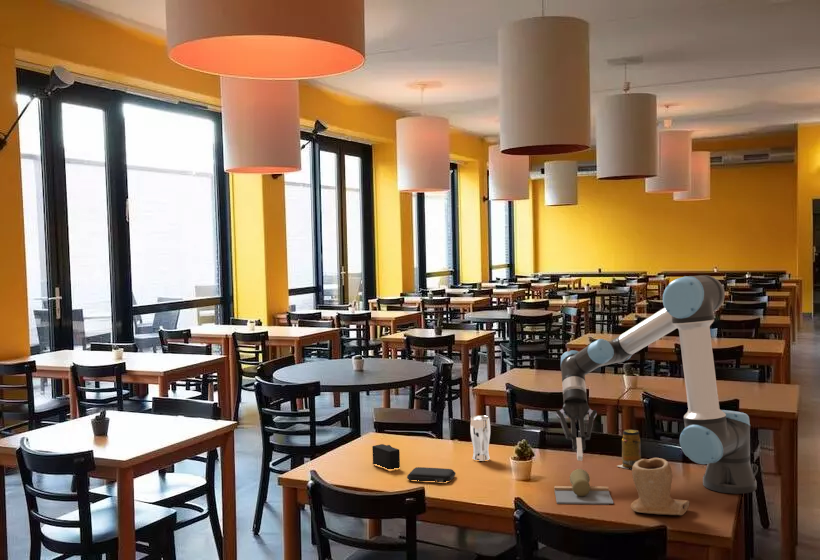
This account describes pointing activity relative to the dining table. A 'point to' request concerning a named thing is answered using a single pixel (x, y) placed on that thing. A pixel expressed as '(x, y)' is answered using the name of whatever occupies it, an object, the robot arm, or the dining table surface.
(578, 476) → the cork
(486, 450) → the beer glass
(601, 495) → the mat
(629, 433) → the condiment
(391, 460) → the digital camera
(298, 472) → the dining table surface
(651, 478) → the stone cup
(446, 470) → the carrying case or bag
